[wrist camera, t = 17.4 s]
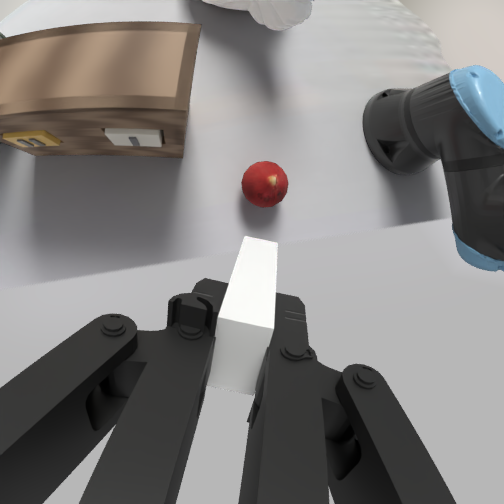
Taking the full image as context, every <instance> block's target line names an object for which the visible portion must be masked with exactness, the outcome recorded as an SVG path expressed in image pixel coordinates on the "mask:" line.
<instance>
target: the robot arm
mask: <svg viewBox="0 0 504 504" xmlns="http://www.w3.org/2000/svg"><path fill="white" fill-rule="evenodd" d="M363 128H364V133H365V137H366V140H367V143H368V145H369V148H370V150H371V151H372V153H373V155H374V156H375V157H376V159H377V160H378V161H379V162H380V163H381V164H382V165H383V166H384V167H385V168H386V169H388V170H390V171H391V172H393V173H396V174H400V175H409V174H416V173H419V172H421V171H423V170H425V169H426V168H427V167H429V166H430V165H432V164H433V163H435V162H436V161H438V160H439V159H441V161H442V165H443V169H444V175H445V180H446V185H447V191H448V196H449V202H450V209H451V215H452V222H453V223H452V230H453V233H454V235H455V241H456V247H457V251H458V253H459V255H460V256H461V258H462V259H463V260H464V261H465V262H467V263H468V264H470V265H472V266H474V267H476V268H479V269H483V270H487V271H497V270H502V271H504V84H503V82H502V81H501V80H500V79H499V77H497V76H496V75H495V74H494V73H493V72H492V71H490V70H489V69H487V68H485V67H482V66H478V65H473V66H469V67H466V68H462V69H455V70H453V71H451V72H450V73H448V74H446V75H443V76H441V77H439V78H436V79H434V80H432V81H429V82H427V83H425V84H423V85H420V86H418V87H416V88H414V89H387V90H384V91H382V92H380V93H378V94H376V95H374V96H373V97H372V98H371V99H370V100H369V101H368V103H367V105H366V107H365V110H364V115H363ZM277 246H278V243H276V242H271V241H267V240H262V239H257V238H253V237H248V236H245V237H244V240H243V243H242V246H241V249H240V252H239V255H238V258H237V261H236V264H235V267H234V270H233V273H232V276H231V279H230V282H229V283H224V282H220V281H216V280H211V279H207V278H204V279H203V280H201V281H199V282H198V283H196V285H195V287H194V289H193V290H192V293H184V294H179V295H176V296H173V297H172V298H171V299H170V300H169V302H168V318H167V327H166V329H164V330H159V331H141V330H137V326H136V324H135V322H134V321H133V320H132V319H130V318H129V317H127V316H124V315H121V314H106V315H102V316H100V317H98V318H96V319H94V320H93V321H91V322H90V323H89V324H87V325H86V326H84V327H83V328H81V329H80V330H79V331H77V332H76V333H74V334H73V335H72V336H71V337H69V338H68V339H66V340H65V341H63V342H62V343H60V344H59V345H58V346H56V347H55V348H54V349H52V350H51V351H49V352H48V353H47V354H45V355H44V356H43V357H41V358H40V359H38V360H37V361H36V362H34V363H33V364H32V365H30V366H29V367H28V368H26V369H25V370H24V371H22V372H21V373H20V374H18V375H17V376H16V377H14V378H13V379H12V380H10V381H9V382H8V383H6V384H5V385H4V386H2V387H1V388H0V504H43V503H44V501H45V500H46V499H47V498H48V497H49V496H50V495H51V494H52V493H53V492H54V491H55V490H56V488H58V486H59V485H60V484H61V483H62V482H63V481H64V480H65V479H66V478H67V477H68V476H69V475H70V474H71V472H72V471H73V470H74V469H75V468H76V467H77V466H78V465H79V464H80V463H81V462H82V461H83V460H84V458H85V457H86V456H87V455H88V454H89V453H90V452H91V451H92V450H93V449H94V448H95V446H96V445H97V444H98V443H99V442H100V441H101V440H102V439H103V438H104V437H105V436H106V434H107V433H108V432H109V431H110V430H111V429H112V428H113V427H114V426H115V425H116V426H115V428H114V430H113V432H112V434H111V436H110V438H109V440H108V442H107V444H106V447H105V448H104V450H103V452H102V455H101V457H100V459H99V461H98V463H97V465H96V467H95V470H94V472H93V474H92V476H91V478H90V480H89V482H88V485H87V487H86V489H85V491H84V494H83V496H82V498H81V500H80V502H79V504H176V500H177V496H178V493H179V489H180V485H181V482H182V478H183V474H184V471H185V467H186V463H187V460H188V456H189V452H190V448H191V445H192V441H193V437H194V434H195V430H196V426H197V423H198V419H199V415H200V412H201V408H202V404H203V401H204V396H205V390H206V385H207V386H211V387H215V388H220V389H224V390H229V391H233V392H238V393H243V394H249V395H254V393H255V399H254V401H253V404H252V408H251V411H250V414H249V417H248V420H247V422H249V430H248V439H247V445H246V453H245V461H244V468H243V475H242V482H241V489H240V496H239V503H238V504H329V489H328V486H329V488H330V491H331V494H332V497H333V500H334V503H335V504H456V502H455V500H454V498H453V496H452V494H451V493H450V491H449V489H448V487H447V486H446V484H445V482H444V480H443V478H442V476H441V474H440V473H439V471H438V469H437V467H436V466H435V464H434V462H433V460H432V459H431V457H430V455H429V453H428V451H427V449H426V448H425V446H424V444H423V443H422V441H421V439H420V437H419V436H418V434H417V433H416V431H415V429H414V427H413V425H412V424H411V422H410V420H409V419H408V417H407V415H406V414H405V412H404V410H403V409H402V407H401V405H400V404H399V402H398V400H397V399H396V397H395V396H394V394H393V392H392V391H391V389H390V387H389V386H388V384H387V382H386V381H385V379H384V378H383V376H382V375H381V374H380V373H379V372H378V371H376V370H375V369H373V368H371V367H369V366H366V365H362V364H353V365H349V366H347V367H346V368H345V369H344V371H343V372H339V371H337V370H334V369H331V368H329V367H327V366H325V365H322V364H321V363H320V362H318V361H317V356H316V354H315V351H314V350H313V349H312V348H311V347H310V346H309V342H308V333H307V323H306V315H305V305H304V304H303V303H302V301H301V300H300V299H299V297H295V296H290V295H286V294H281V293H276V273H277ZM255 390H256V392H255Z"/></svg>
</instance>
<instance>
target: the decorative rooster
mask: <svg viewBox="0 0 504 504" xmlns="http://www.w3.org/2000/svg"><path fill="white" fill-rule="evenodd" d="M202 1H204V2H206V3H209V4H214V5H216V6H219V7H223V8H228V9H236V10H248V11H249V12H250V14H251V15H252V17H253V18H254V19H255V21H256V22H258V23H259V24H263V25H266V26H267V27H268V28H269V29H271V30H279V31H283V30H286V29H289V28H291V27H293V26H296V25H298V24H301V23H303V22H304V20H305V19H308V18H309V17H310V15H311V11H312V3H311V1H314V0H202Z"/></svg>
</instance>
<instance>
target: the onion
mask: <svg viewBox="0 0 504 504" xmlns="http://www.w3.org/2000/svg"><path fill="white" fill-rule="evenodd" d="M241 183H242V190H243V193H244V195H245V197H246V199H248V200H249V201H250V202H251V203H252V204H254V205H256V206H259V207H272V206H274V205H276V204H277V203H279V202H281V201H282V200H283V198H284V197H285V195H286V193H287V188H288V180H287V175H286V174H285V172H284V171H283V169H282V168H280V167H279V166H278V165H277V164H276V163H272V162H268V161H264V162H257V163H255V164H253V165H252V166H250V167H249V168H248V169H247V171H246V172H245V173H244V176H243V179H242V182H241Z"/></svg>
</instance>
